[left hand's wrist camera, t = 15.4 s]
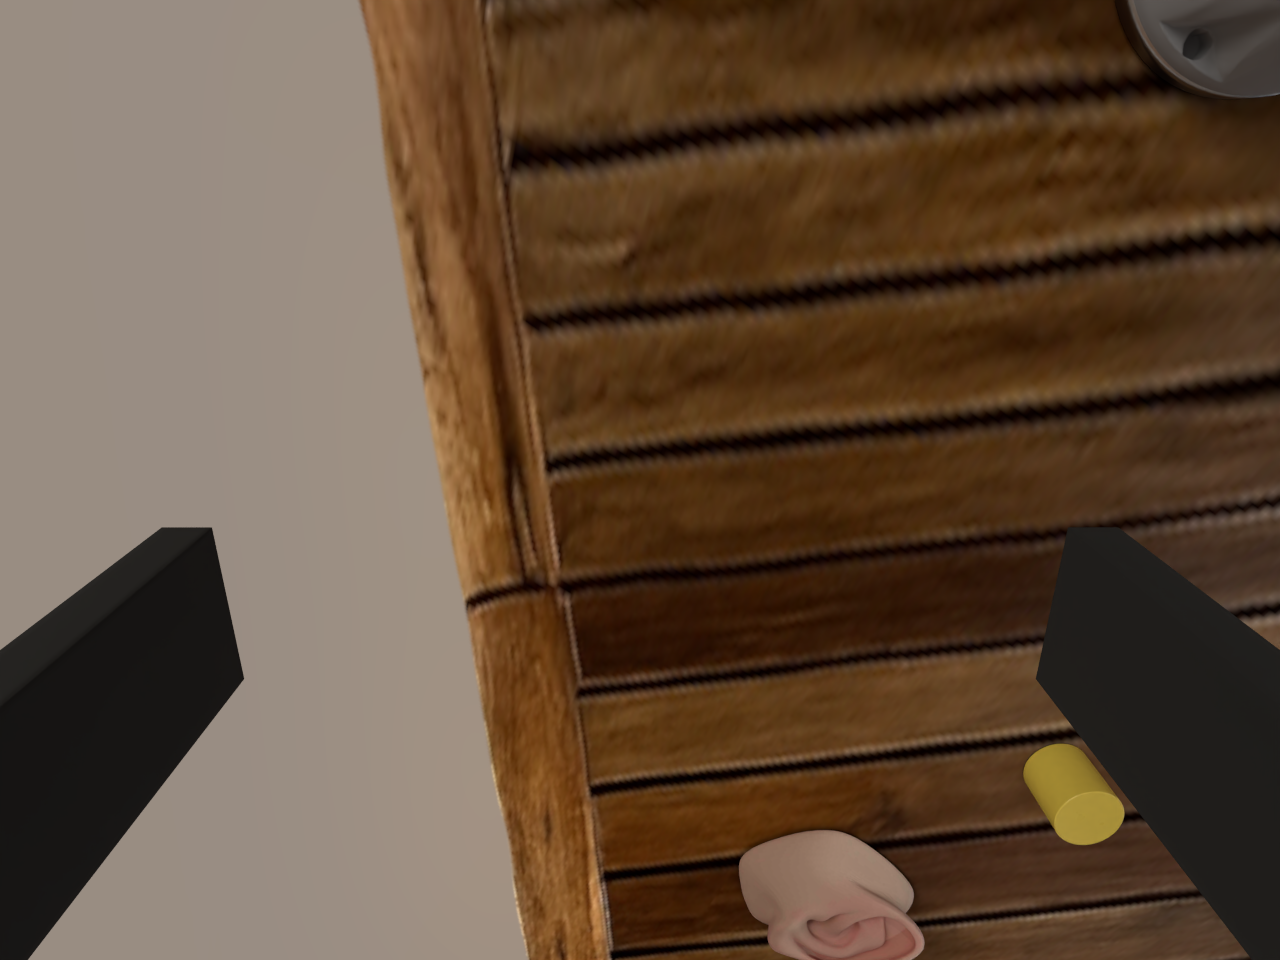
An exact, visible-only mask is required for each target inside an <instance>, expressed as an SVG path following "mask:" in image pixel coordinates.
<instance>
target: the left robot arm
mask: <svg viewBox="0 0 1280 960" xmlns="http://www.w3.org/2000/svg"><path fill="white" fill-rule="evenodd" d="M1115 3H1116V8H1117V11H1118V15H1119V18H1120V21H1121V24H1122V26H1123V28H1124V31H1125V33H1126V36H1127V37H1128V39H1129V41H1130V43H1131V44H1132V46H1133V48H1134V49H1135V51H1136V52H1137V53H1138V55H1139V56H1140V58H1141V59H1142V60H1143V61H1144V62H1145V63H1146V64H1147V66H1148V67H1149V68H1150V69H1151V70H1152V71H1154V72H1155V73H1156V74H1157V75H1158V76H1160V77H1161V78H1162V79H1164V80H1165V81H1167V82H1168V83H1170V84H1171V85H1173V86H1175V87H1177V88H1179V89H1181V90H1183V91H1186V92H1189V93H1192V94H1195V95H1198V96H1203V97H1207V98H1213V99H1225V100H1229V99H1247V98H1256V97H1264V96H1272V95H1278V94H1280V0H1115ZM243 680H244V676H243V671H242V667H241V662H240V657H239V653H238V648H237V643H236V639H235V634H234V629H233V625H232V620H231V615H230V610H229V606H228V601H227V596H226V592H225V587H224V582H223V578H222V573H221V568H220V564H219V559H218V554H217V550H216V545H215V540H214V536H213V531H212V528H161V529H159V530H158V531H157V532H155V533H154V534H153V535H151V536H150V537H149V538H147V539H146V540H145V541H143V542H142V543H141V544H140V545H138V546H137V547H136V548H134V549H133V550H132V551H130V552H129V553H128V554H126V555H125V556H124V557H122V558H121V559H120V560H118V561H117V562H116V563H114V564H113V565H112V566H111V567H109V568H108V569H107V570H105V571H104V572H103V573H101V574H100V575H99V576H97V577H96V578H95V579H93V580H92V581H91V582H89V583H88V584H87V585H86V586H84V587H83V588H82V589H80V590H79V591H78V592H76V593H75V594H74V595H72V596H71V597H70V598H68V599H67V600H66V601H64V602H63V603H62V604H60V605H59V606H58V607H57V608H55V609H54V610H53V611H51V612H50V613H49V614H47V615H46V616H45V617H43V618H42V619H41V620H39V621H38V622H37V623H35V624H34V625H33V626H31V627H30V628H29V629H28V630H26V631H25V632H24V633H22V634H21V635H20V636H18V637H17V638H16V639H14V640H13V641H12V642H10V643H9V644H8V645H6V646H5V647H4V648H2V649H1V650H0V960H28V959H29V957H30V956H31V955H32V954H33V952H34V951H35V950H36V948H37V947H38V946H39V945H40V943H41V942H42V941H43V939H44V938H45V937H46V935H47V934H48V933H49V932H50V930H51V929H52V928H53V926H54V925H55V924H56V922H57V921H58V920H59V919H60V917H61V916H62V915H63V913H64V912H65V911H66V909H67V908H68V907H69V906H70V904H71V903H72V902H73V900H74V899H75V898H76V896H77V895H78V894H79V893H80V891H81V890H82V889H83V887H84V886H85V885H86V883H87V882H88V881H89V880H90V878H91V877H92V876H93V874H94V873H95V872H96V870H97V869H98V868H99V867H100V865H101V864H102V863H103V861H104V860H105V859H106V857H107V856H108V855H109V854H110V852H111V851H112V850H113V848H114V847H115V846H116V845H117V843H118V842H119V841H120V839H121V838H122V837H123V835H124V834H125V833H126V832H127V830H128V829H129V828H130V826H131V825H132V824H133V822H134V821H135V820H136V819H137V817H138V816H139V815H140V813H141V812H142V811H143V809H144V808H145V807H146V806H147V804H148V803H149V802H150V800H151V799H152V798H153V796H154V795H155V794H156V793H157V791H158V790H159V789H160V787H161V786H162V785H163V783H164V782H165V781H166V780H167V778H168V777H169V776H170V774H171V773H172V772H173V771H174V769H175V768H176V767H177V765H178V764H179V763H180V761H181V760H182V759H183V757H184V756H185V755H186V754H187V752H188V751H189V750H190V748H191V747H192V746H193V745H194V743H195V742H196V741H197V739H198V738H199V737H200V735H201V734H202V733H203V732H204V730H205V729H206V728H207V726H208V725H209V724H210V722H211V721H212V720H213V719H214V717H215V716H216V715H217V713H218V712H219V711H220V709H221V708H222V707H223V706H224V704H225V703H226V702H227V700H228V699H229V698H230V696H231V695H232V694H233V693H234V691H235V690H236V689H237V687H238V686H239V685H240V684H241V682H242V681H243ZM1036 680H1037V681H1038V682H1039V684H1040V685H1041V686H1042V687H1043V689H1044V690H1045V691H1046V693H1047V694H1048V695H1049V697H1050V698H1051V699H1052V700H1053V702H1054V703H1055V704H1056V706H1057V707H1058V708H1059V709H1060V711H1061V712H1062V713H1063V715H1064V716H1065V717H1066V719H1067V720H1068V721H1069V722H1070V724H1071V725H1072V726H1073V728H1074V729H1075V730H1076V732H1077V733H1078V734H1079V735H1080V737H1081V738H1082V739H1083V741H1084V742H1085V743H1086V745H1087V746H1088V747H1089V748H1090V750H1091V751H1092V752H1093V754H1094V755H1095V756H1096V758H1097V759H1098V760H1099V761H1100V763H1101V764H1102V765H1103V767H1104V768H1105V769H1106V771H1107V772H1108V773H1109V774H1110V776H1111V777H1112V778H1113V780H1114V781H1115V782H1116V783H1117V785H1118V786H1119V787H1120V789H1121V790H1122V791H1123V793H1124V794H1125V795H1126V796H1127V798H1128V799H1129V800H1130V802H1131V803H1132V804H1133V806H1134V807H1135V808H1136V809H1137V811H1138V812H1139V813H1140V815H1141V816H1142V817H1143V819H1144V820H1145V821H1146V822H1147V824H1148V825H1149V826H1150V828H1151V829H1152V830H1153V832H1154V833H1155V834H1156V835H1157V837H1158V838H1159V839H1160V841H1161V842H1162V843H1163V845H1164V846H1165V847H1166V848H1167V850H1168V851H1169V852H1170V854H1171V855H1172V856H1173V858H1174V859H1175V860H1176V861H1177V863H1178V864H1179V865H1180V867H1181V868H1182V869H1183V870H1184V872H1185V873H1186V874H1187V876H1188V877H1189V878H1190V880H1191V881H1192V882H1193V883H1194V885H1195V886H1196V887H1197V889H1198V890H1199V891H1200V893H1201V894H1202V895H1203V896H1204V898H1205V899H1206V900H1207V902H1208V903H1209V904H1210V906H1211V907H1212V908H1213V909H1214V911H1215V912H1216V913H1217V915H1218V916H1219V917H1220V919H1221V920H1222V921H1223V922H1224V924H1225V925H1226V926H1227V928H1228V929H1229V930H1230V932H1231V933H1232V934H1233V935H1234V937H1235V938H1236V939H1237V941H1238V942H1239V943H1240V945H1241V946H1242V947H1243V948H1244V950H1245V951H1246V952H1247V954H1248V955H1249V956H1250V957H1251V959H1252V960H1280V650H1279V649H1278V648H1276V647H1275V646H1274V645H1272V644H1271V643H1270V642H1268V641H1267V640H1266V639H1264V638H1263V637H1262V636H1260V635H1259V634H1258V633H1256V632H1255V631H1254V630H1253V629H1251V628H1250V627H1249V626H1247V625H1246V624H1245V623H1243V622H1242V621H1241V620H1239V619H1238V618H1237V617H1235V616H1234V615H1233V614H1231V613H1230V612H1229V611H1227V610H1226V609H1225V608H1224V607H1222V606H1221V605H1220V604H1218V603H1217V602H1216V601H1214V600H1213V599H1212V598H1210V597H1209V596H1208V595H1206V594H1205V593H1204V592H1202V591H1201V590H1200V589H1198V588H1197V587H1196V586H1195V585H1193V584H1192V583H1191V582H1189V581H1188V580H1187V579H1185V578H1184V577H1183V576H1181V575H1180V574H1179V573H1177V572H1176V571H1175V570H1173V569H1172V568H1171V567H1169V566H1168V565H1167V564H1166V563H1164V562H1163V561H1162V560H1160V559H1159V558H1158V557H1156V556H1155V555H1154V554H1152V553H1151V552H1150V551H1148V550H1147V549H1146V548H1144V547H1143V546H1142V545H1140V544H1139V543H1138V542H1137V541H1135V540H1134V539H1133V538H1131V537H1130V536H1129V535H1127V534H1126V533H1125V532H1123V531H1122V530H1121V529H1119V528H1068V531H1067V535H1066V540H1065V545H1064V549H1063V554H1062V559H1061V564H1060V568H1059V573H1058V578H1057V582H1056V587H1055V592H1054V596H1053V601H1052V606H1051V610H1050V615H1049V620H1048V624H1047V629H1046V634H1045V639H1044V643H1043V648H1042V653H1041V657H1040V662H1039V667H1038V671H1037V676H1036Z"/></svg>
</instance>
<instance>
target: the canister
mask: <svg viewBox="0 0 1280 960" xmlns="http://www.w3.org/2000/svg"><path fill="white" fill-rule="evenodd" d="M1023 776H1024V780H1025V783H1026V784H1027V786H1028V788H1029V789H1030V791H1031V792H1032V794H1033V796H1034V797H1035V799H1036V800H1037V802H1038V804H1039V805H1040V807H1041V808H1042V810H1043V812H1044V813H1045V815H1046V817H1047V818H1048V820H1049V821H1050V823H1051V825H1052V826H1053V828H1054V829H1055V831H1056V833H1057V834H1058V835H1059V836H1060V837H1061V838H1062V839H1063V840H1065V841H1067V842H1069V843H1072V844H1077V845H1089V844H1094V843H1097V842H1100V841H1103V840H1105V839H1106V838H1108V837H1110V836H1111V835H1112V834H1114V833H1115V832H1116V831H1117V830H1118V828H1119V827H1120V825H1121V824H1122V822H1123V819H1124V808H1123V805H1122V803H1121V801H1120V800H1119V799H1118V797H1117V796H1116V795H1115V793H1114V792H1113V791H1112V789H1111V788H1110V787H1109V785H1108V784H1107V783H1106V781H1105V780H1104V779H1103V777H1102V776H1101V775H1100V773H1099V772H1098V771H1097V769H1096V768H1095V767H1094V766H1093V764H1092V763H1091V762H1090V760H1089V759H1088V758H1087V756H1086V755H1085V754H1084V752H1083V751H1082V750H1080V749H1079V748H1077V747H1075V746H1073V745H1069V744H1053V745H1049V746H1046V747H1044V748H1042V749H1040V750H1038V751H1037V752H1035V753H1034V754H1033V755H1032V756H1031V757H1030V758H1029V759H1028V761H1027V762H1026V764H1025V767H1024V771H1023Z"/></svg>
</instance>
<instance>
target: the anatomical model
mask: <svg viewBox="0 0 1280 960" xmlns="http://www.w3.org/2000/svg"><path fill="white" fill-rule="evenodd" d="M739 876H740V882H741V888H742V893H743V896H744V899H745V901H746V904H747V906H748V908H749V910H750V912H751V914H752V915H753V916H754V917H755V918H756V919H758V920H759V921H761V922H763V923H765V924H768V925H769V928H768V942H769V944H770V946H771V948H772V949H773V950H775V951H776V952H778V953H781V954H784V955H786V956H790V957H793V958H796V959H799V960H912V959H913V958H915V957H916V956H918V955H919V954H920V953H921V952H922V950H923V948H924V937H923V934H922V932H921V930H920V929H919V927H918V926H917V925H916V924H915V922H914V921H913V920H912V919H911V918H910V917H909V916H908V915H906V914H905V913H906V912H907V911H908V910H909V908H910V906H911V905H912V902H913V899H914V893H913V889H912V887H911V885H910V883H909V882H908V881H907V879H906V878H905V877H904V876H903V874H902V873H901V872H900V871H899V870H897V869H896V868H895V867H894V866H893V865H892V864H891V863H890V862H889V861H888V860H887V859H885V858H884V857H883V856H882V855H880V854H879V853H878V852H877V851H875V850H874V849H872V848H871V847H870V846H868V845H867V844H865V843H864V842H862V841H860V840H859V839H857V838H855V837H853V836H851V835H848V834H846V833H843V832H839V831H833V830H814V831H805V832H800V833H795V834H791V835H787V836H784V837H780V838H777V839H774V840H771V841H768V842H765V843H763V844H760V845H758V846H756V847H754V848H752V849H750V850H749V851H747V852H746V853H745V854H744V855H743V856H742V858H741V860H740V863H739Z"/></svg>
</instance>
